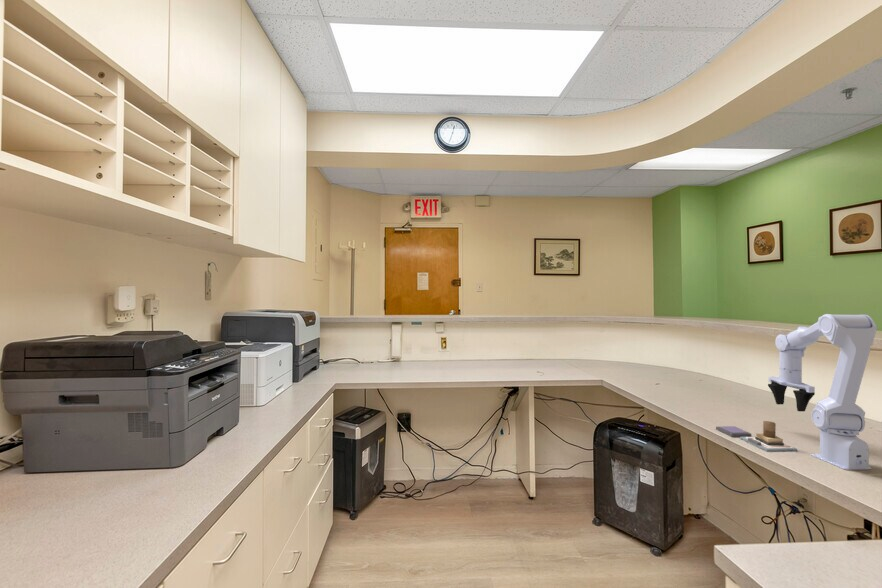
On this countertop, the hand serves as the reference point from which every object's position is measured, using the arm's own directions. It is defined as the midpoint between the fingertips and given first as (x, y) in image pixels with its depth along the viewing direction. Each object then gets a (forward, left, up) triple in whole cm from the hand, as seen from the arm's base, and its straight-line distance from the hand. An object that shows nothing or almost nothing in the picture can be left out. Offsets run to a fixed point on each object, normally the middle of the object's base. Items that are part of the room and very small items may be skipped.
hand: (790, 407), depth 129 cm
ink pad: (+2, +19, -9) cm, 21 cm away
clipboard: (-8, +16, -9) cm, 20 cm away
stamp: (-8, +15, -9) cm, 19 cm away
